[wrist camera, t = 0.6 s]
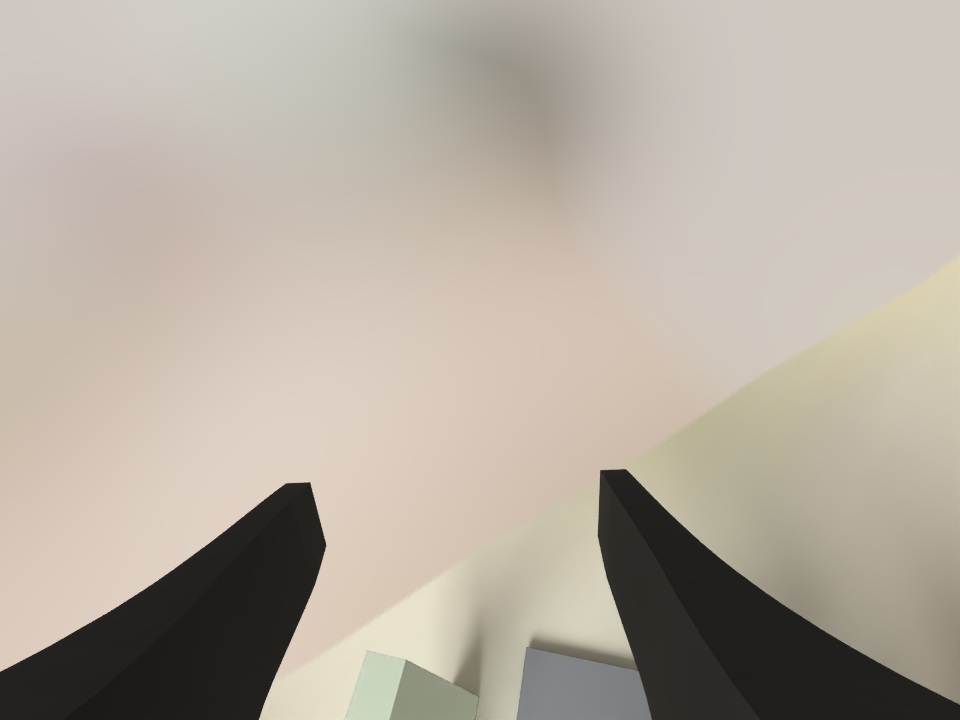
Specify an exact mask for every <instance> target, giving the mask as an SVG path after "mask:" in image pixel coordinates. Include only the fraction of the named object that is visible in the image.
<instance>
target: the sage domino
mask: <svg viewBox="0 0 960 720" xmlns="http://www.w3.org/2000/svg"><path fill="white" fill-rule="evenodd" d="M478 700H479V697H478V696H476V695H474V694H472V693H470V692H468V691H466V690H464V689H462V688H460V687H458V686H456V685H454V684H453V683H451V682H449V681H447V680H445V679H443V678H441V677H439V676H437V675H435V674H433V673H431V672H429V671H427V670H425V669H423V668H421V667H419V666H417V665H415V664H413V663H412V662H410V661H408V660H405V659H401V658H397V657H393V656H389V655H385V654H381V653H377V652H373V651H368V650H367V652H366V655H365V658H364V661H363V664H362V667H361V670H360V673H359V676H358V680H357V683H356V686H355V689H354V692H353V695H352V698H351V701H350V704H349V707H348V710H347V714H346V717H345V720H475V717H476V712H477V706H478Z"/></svg>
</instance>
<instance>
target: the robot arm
mask: <svg viewBox="0 0 960 720" xmlns="http://www.w3.org/2000/svg"><path fill="white" fill-rule="evenodd" d="M598 539H599V544H600V548H601V553H602V558H603V562H604V567H605V571H606V576H607V579H608V582H609V585H610V588H611V591H612V594H613V597H614V600H615V603H616V606H617V609H618V612H619V615H620V618H621V621H622V624H623V627H624V630H625V633H626V636H627V639H628V642H629V645H630V648H631V651H632V654H633V656H634V659H635V662H636V665H637V668H638V671H639V674H640V678H641V681H642V684H643V688H644V691H645V694H646V698H647V702H648V706H649V710H650V714H651V718H652V720H960V705H959V704H957V703H955V702H953V701H951V700H949V699H947V698H945V697H943V696H941V695H939V694H937V693H935V692H933V691H931V690H929V689H927V688H925V687H923V686H921V685H919V684H917V683H915V682H913V681H911V680H909V679H907V678H905V677H904V676H902V675H900V674H898V673H896V672H894V671H892V670H891V669H889V668H887V667H885V666H884V665H882V664H880V663H878V662H876V661H875V660H873V659H871V658H869V657H868V656H866V655H864V654H862V653H860V652H859V651H857V650H855V649H853V648H851V647H850V646H848V645H846V644H845V643H843V642H841V641H840V640H838V639H836V638H835V637H833V636H831V635H830V634H828V633H826V632H825V631H823V630H821V629H820V628H818V627H817V626H815V625H814V624H812V623H811V622H809V621H807V620H806V619H804V618H803V617H801V616H800V615H798V614H797V613H795V612H793V611H792V610H790V609H789V608H787V607H786V606H784V605H783V604H781V603H780V602H778V601H777V600H775V599H774V598H772V597H771V596H770V595H768V594H767V593H765V592H764V591H763V590H761V589H760V588H758V587H757V586H756V585H754V584H753V583H752V582H750V581H749V580H748V579H746V578H745V577H743V576H742V575H741V574H739V573H738V572H737V571H735V570H734V569H733V568H732V567H730V566H729V565H728V564H726V563H725V562H724V561H723V560H721V559H720V558H719V557H718V556H717V555H715V554H714V553H713V552H712V551H711V550H709V549H708V548H707V547H706V546H705V545H704V544H702V543H701V542H700V541H699V540H698V539H697V538H696V537H695V536H693V535H692V534H691V533H690V532H689V531H688V530H687V529H686V528H685V527H684V526H683V525H682V524H680V523H679V522H678V521H677V520H676V519H675V518H674V517H673V516H672V515H671V514H670V513H669V512H668V511H667V510H666V509H665V508H664V507H663V506H662V505H661V504H660V503H659V502H658V501H657V500H656V499H655V498H654V497H653V496H652V495H651V494H650V493H649V492H648V491H647V490H646V489H645V488H644V487H643V486H642V485H641V484H640V483H639V482H638V481H637V480H636V479H635V478H634V477H633V476H632V475H631V474H630V473H629V472H628V471H627V470H626V469H620V470H600V494H599V521H598ZM325 548H326V542H325V539H324V534H323V531H322V527H321V523H320V519H319V515H318V511H317V507H316V503H315V500H314V496H313V492H312V488H311V484H310V482H309V483H287V484H285V485H284V486H282V487H281V488H279V489H278V490H277V491H275V492H274V493H273V494H271V495H270V496H269V497H268V498H266V499H265V500H264V501H262V502H261V503H260V504H259V505H257V506H256V507H255V508H254V509H253V510H251V511H250V512H249V513H247V514H246V515H245V516H244V517H242V518H241V519H240V520H239V521H237V522H236V523H235V524H234V525H232V526H231V527H230V528H229V529H227V530H226V531H225V532H223V533H222V534H221V535H219V536H218V537H217V538H216V539H214V540H213V541H212V542H210V543H209V544H208V545H206V546H205V547H204V548H202V549H201V550H200V551H198V552H197V553H195V554H194V555H193V556H192V557H190V558H189V559H187V560H186V561H185V562H183V563H182V564H180V565H179V566H178V567H176V568H175V569H174V570H172V571H171V572H170V573H168V574H167V575H165V576H164V577H162V578H161V579H159V580H158V581H157V582H155V583H154V584H152V585H151V586H149V587H148V588H146V589H145V590H143V591H141V592H140V593H138V594H137V595H135V596H134V597H132V598H131V599H129V600H127V601H126V602H124V603H123V604H121V605H120V606H118V607H116V608H115V609H113V610H111V611H110V612H108V613H107V614H105V615H103V616H101V617H100V618H98V619H96V620H95V621H93V622H91V623H89V624H87V625H86V626H84V627H82V628H80V629H79V630H77V631H75V632H73V633H72V634H70V635H68V636H67V637H65V638H63V639H61V640H60V641H58V642H56V643H54V644H53V645H51V646H49V647H47V648H45V649H43V650H41V651H40V652H38V653H36V654H34V655H32V656H30V657H28V658H26V659H25V660H22V661H20V662H19V663H17V664H15V665H13V666H11V667H9V668H7V669H5V670H3V671H1V672H0V720H259V717H260V714H261V711H262V708H263V705H264V703H265V700H266V698H267V695H268V693H269V690H270V687H271V685H272V682H273V680H274V678H275V675H276V673H277V671H278V668H279V666H280V664H281V662H282V659H283V657H284V655H285V652H286V650H287V648H288V646H289V644H290V641H291V639H292V637H293V634H294V632H295V630H296V627H297V625H298V623H299V621H300V619H301V616H302V614H303V612H304V609H305V607H306V605H307V602H308V600H309V598H310V595H311V593H312V590H313V588H314V586H315V583H316V579H317V576H318V573H319V569H320V566H321V563H322V559H323V555H324V552H325Z"/></svg>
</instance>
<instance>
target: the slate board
mask: <svg viewBox="0 0 960 720" xmlns="http://www.w3.org/2000/svg"><path fill="white" fill-rule="evenodd" d="M517 720H652V718H651V714H650V710H649V706H648V702H647V698H646V694H645V691H644V688H643V684H642V681H641V678H640V674H639V671H637V670H632V669H627V668H623V667H618V666H613V665H608V664H604V663H599V662H594V661H590V660H585V659H580V658H576V657H571V656H566V655H561V654H557V653H552V652H547V651H543V650H538V649H533V648H528V647H526V655H525V662H524V670H523V677H522V684H521V692H520V699H519V706H518V714H517Z"/></svg>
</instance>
